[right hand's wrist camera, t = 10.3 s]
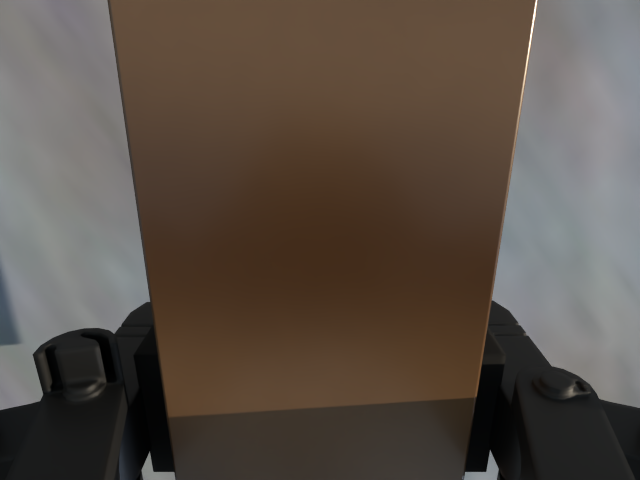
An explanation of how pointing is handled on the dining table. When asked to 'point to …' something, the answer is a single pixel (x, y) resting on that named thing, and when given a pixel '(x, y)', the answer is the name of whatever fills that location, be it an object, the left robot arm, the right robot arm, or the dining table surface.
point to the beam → (321, 224)
